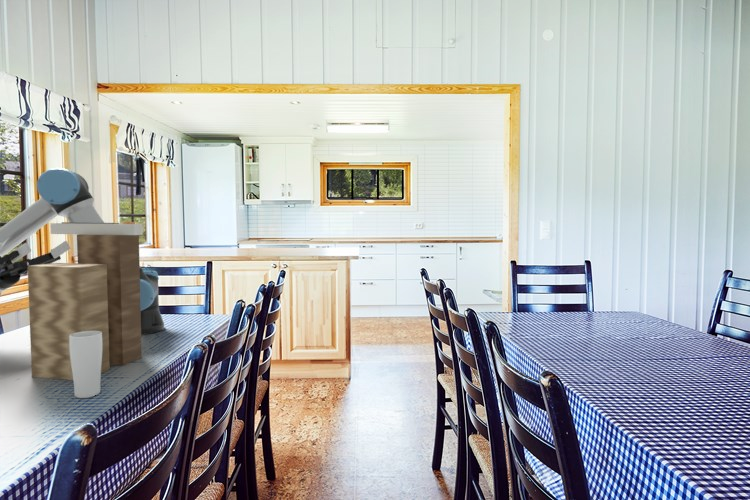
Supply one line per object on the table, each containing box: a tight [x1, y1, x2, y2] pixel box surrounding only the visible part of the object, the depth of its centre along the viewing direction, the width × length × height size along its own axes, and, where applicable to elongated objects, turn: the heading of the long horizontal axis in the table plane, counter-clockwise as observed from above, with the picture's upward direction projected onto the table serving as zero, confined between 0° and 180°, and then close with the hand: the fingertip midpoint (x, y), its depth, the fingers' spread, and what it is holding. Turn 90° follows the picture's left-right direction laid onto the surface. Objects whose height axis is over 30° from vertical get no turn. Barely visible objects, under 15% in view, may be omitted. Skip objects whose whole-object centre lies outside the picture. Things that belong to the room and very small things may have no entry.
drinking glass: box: [69, 331, 103, 399], centre depth 108 cm, size 7×7×15 cm
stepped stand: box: [27, 234, 143, 381], centre depth 129 cm, size 17×21×38 cm
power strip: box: [49, 221, 143, 236], centre depth 134 cm, size 28×4×4 cm, turn 80°
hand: (49, 245), depth 137 cm, fingers open, 13 cm apart
